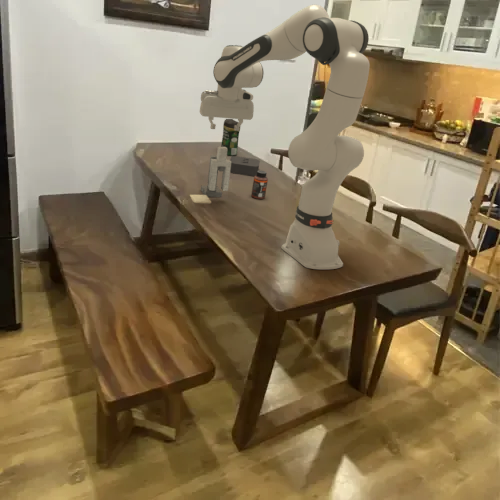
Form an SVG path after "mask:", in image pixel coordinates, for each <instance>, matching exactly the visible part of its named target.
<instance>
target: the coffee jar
mask: <svg viewBox="0 0 500 500" xmlns="http://www.w3.org/2000/svg"><path fill="white" fill-rule="evenodd" d="M238 122H239V121H238V120H237V121H236V119H232V118H225V119H224V121H223V126H222V127H223V130H222V139H221V145H220V147H226V148H227V156H230V157H232V156H237V155H238V146H239V136H240V131H241V126H240V127H239V131H235V130H234V128H235V127H234V126H235V125H237V124H238Z"/></svg>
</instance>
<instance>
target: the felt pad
mask: <svg viewBox="0 0 500 500" xmlns="http://www.w3.org/2000/svg"><path fill="white" fill-rule="evenodd" d="M190 197H191V198H190ZM189 198H190V199H191V200H192V203H194V204H212V201H211V199H210V197H207V195H204V194H189Z"/></svg>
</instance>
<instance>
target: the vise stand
mask: <svg viewBox="0 0 500 500" xmlns="http://www.w3.org/2000/svg"><path fill="white" fill-rule="evenodd" d="M211 159H217V154H216V155H214V154H213V155H212V154H210V156H209V168H208V175H207V185H201V186H200V191H201V193H202V195H207V197H208V198H222V197H223V192H222V189H220V188H219V186H217V185H218V184H217V182H218V174H219V172H223V171H224V167H222V166H218V167H217V176H216V185H215V191H210V190H209V188H208V185H209V175H210V166H211Z"/></svg>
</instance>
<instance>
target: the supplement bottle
mask: <svg viewBox="0 0 500 500" xmlns="http://www.w3.org/2000/svg"><path fill="white" fill-rule="evenodd" d="M268 180H269V178H268V176H267V171H265V170H258V171H257V175H256V176H253V181H252V189H251V198H254V199H256V200H257V199H258V200H263V199H265V198H266V193H267V186H268Z"/></svg>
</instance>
